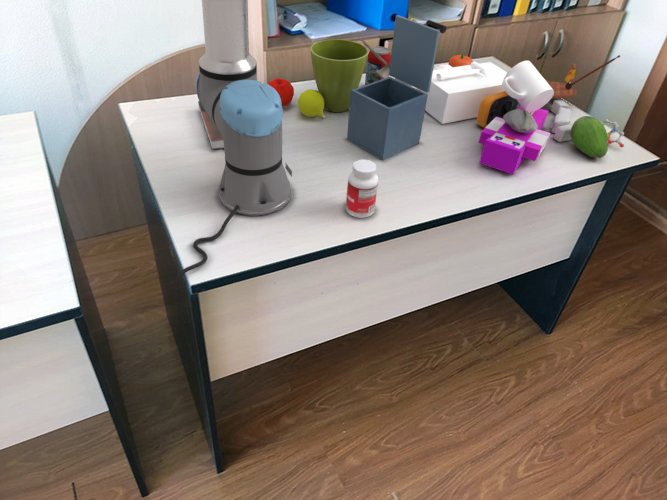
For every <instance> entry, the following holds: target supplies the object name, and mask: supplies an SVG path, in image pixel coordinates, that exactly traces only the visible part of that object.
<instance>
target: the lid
mask: <svg viewBox="0 0 667 500" xmlns="http://www.w3.org/2000/svg"><path fill="white" fill-rule="evenodd" d="M446 31H447V25H445V24H442V23H439V22H437V21H433V20H431V19H427V20H426V22H424V23H420V22H417V21H415V20H412V19H409V18H407V17H405V16H401V15H399V14H397V15H395V17H394V27H393V36H392V43H391V46H392V47H391V51H390V54H391V61H390V70H389V77H391V78H394V79H395V78H396V79H398V80H401V81H403V82H405V83H407V84H409V85H411V86H414V87H416V88H418V89H420V90H422V91H424V92H427V93H428V92H429V91H430V85H431V79H432V74H433V70H434V68H435V63H436V62H435V61H436V56H437V50H438V45H439V39H440V34H445V33H446Z"/></svg>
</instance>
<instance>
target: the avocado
mask: <svg viewBox="0 0 667 500" xmlns="http://www.w3.org/2000/svg"><path fill="white" fill-rule="evenodd" d="M572 124H573V126H572V128H571V139H572V140H571V142H572V143H573V145H574V146H575V148H576V149H577V150H579V151H580V152H582V153H583V154H584V155H586V156H588V157H590V158H593V159H601V158H603V157H605V156H607V153H608V150H609V144H608V140H607V133H608V132H607V129H606V127H605V125H603V124H604V122H602V121H601V120H600V119H598V117H594V116H591V115H584V116H581V117H579V118H577V119H576V120H575V121H574V122H573V123H572Z"/></svg>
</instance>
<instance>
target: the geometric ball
mask: <svg viewBox="0 0 667 500" xmlns="http://www.w3.org/2000/svg"><path fill="white" fill-rule="evenodd" d="M448 64H449V63H447V64H444V63H443V64H439V65H437V66H434V68H433V70H438V69H445V68H452V67H451V66H450V65H448Z"/></svg>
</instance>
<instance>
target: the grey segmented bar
mask: <svg viewBox="0 0 667 500" xmlns="http://www.w3.org/2000/svg"><path fill="white" fill-rule="evenodd" d="M569 106H570V105H569V104H568V103H567V102H566V101H564V100H563V98H554V99H553V102H552V105H551V107H550V111H551V112H552V113H553V114H554V115H555V116H554V119H553V121H552V124H551V134H554V135H553V139H554V140H555V141H556V142H558V143H562V142H566V141H572V139H571V128H572V126H573V124H574V123H570V121H571V113H572V110H571V108H570V107H569Z"/></svg>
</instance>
